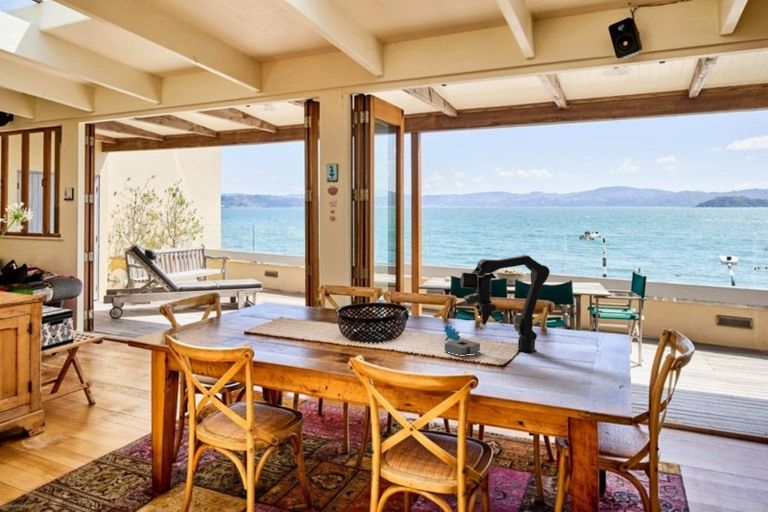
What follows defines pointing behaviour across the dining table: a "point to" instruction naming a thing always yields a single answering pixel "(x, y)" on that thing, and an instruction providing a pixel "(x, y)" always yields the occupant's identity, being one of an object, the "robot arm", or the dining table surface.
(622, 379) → the dining table surface
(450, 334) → the blue lobed piece
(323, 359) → the dining table surface
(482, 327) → the pin
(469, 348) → the block
